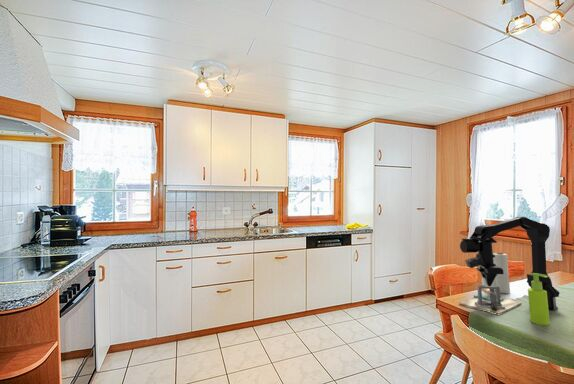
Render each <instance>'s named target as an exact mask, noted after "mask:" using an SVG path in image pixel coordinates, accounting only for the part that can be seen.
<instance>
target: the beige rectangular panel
mask: <svg viewBox="0 0 574 384" xmlns="http://www.w3.org/2000/svg"><path fill="white" fill-rule="evenodd" d="M477 300H478V293H476V294H474V295H473V297H471V298H468V299H465V300H462V301H460V302H458V305H459V306H463V307H464V308H465V307H466V308H469V309H473V310H476V311H480V310H486V311H490V312H493V313H496V314H501V313H503V314H505V313H507V312H506V311H508V310H510V309H512V308H514V307H516V306H518V305H520V304H523V303H522V302H521V301H518V300H517V301H516V300H513V299H507V298H502V297H500V301H501V304H502V306H497V311H494V310H491V306H487V305H480V304H479V303H478V302H477ZM482 300H483V301H491V300H490V296H489V295H487V294H486V293H485V294H484V293H482ZM520 306H521V305H520ZM518 307H519V306H518ZM516 308H517V307H516ZM514 309H515V308H514ZM512 310H513V309H512ZM510 311H511V310H510ZM504 312H505V313H504ZM508 312H509V311H508ZM501 315H502V314H501Z"/></svg>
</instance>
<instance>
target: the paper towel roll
mask: <svg viewBox="0 0 574 384" xmlns="http://www.w3.org/2000/svg"><path fill="white" fill-rule="evenodd" d="M493 255H495V257H493V262H494V264H496V266H498V267H500V268H502V269H503V271H504V274H497V276H496V277H495V279H494V286H499V288H500V294H510V293H511V288H510V287H511V286H510V275H509V274H510V272H509V263H508V254H507V253H501V252H493Z"/></svg>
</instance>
